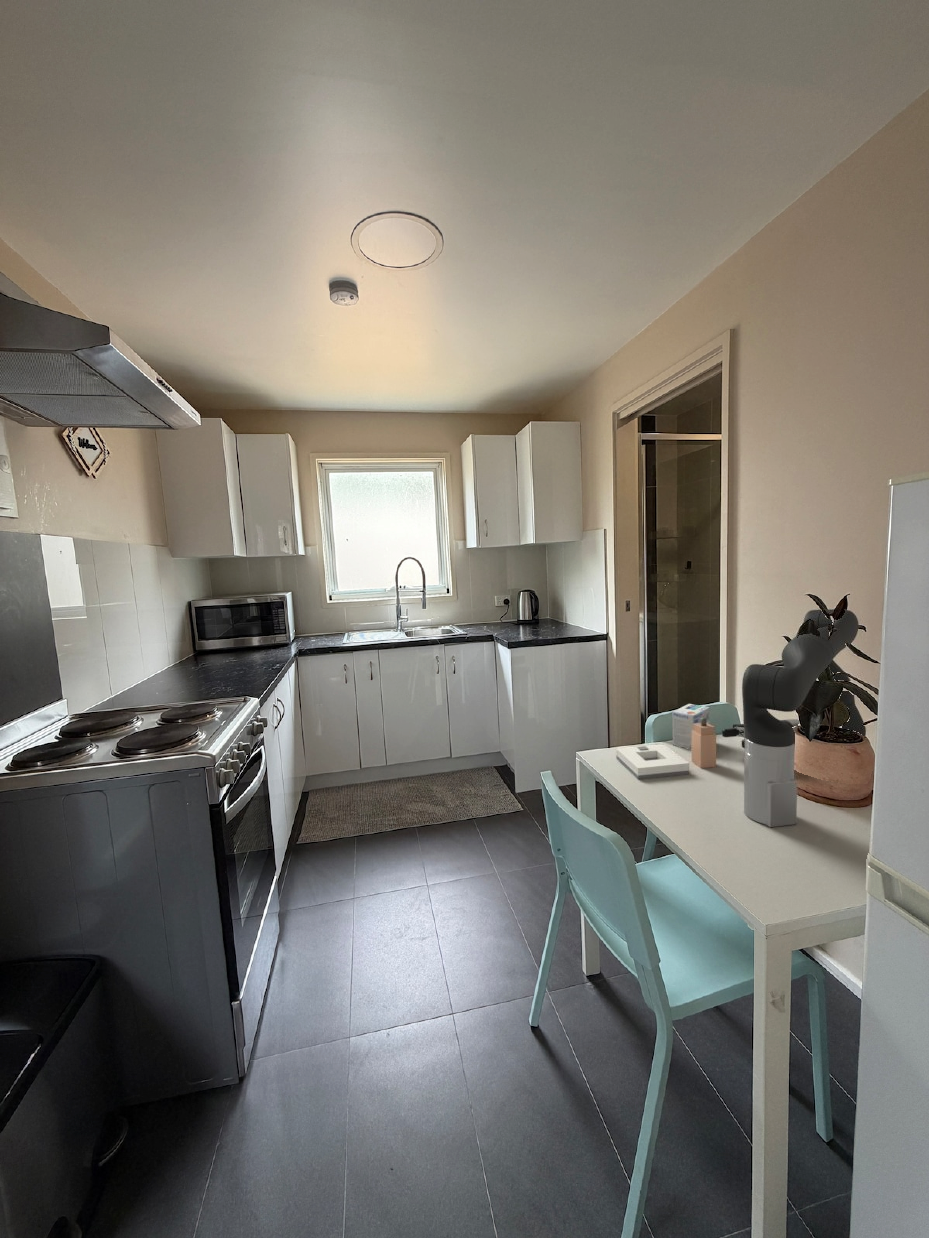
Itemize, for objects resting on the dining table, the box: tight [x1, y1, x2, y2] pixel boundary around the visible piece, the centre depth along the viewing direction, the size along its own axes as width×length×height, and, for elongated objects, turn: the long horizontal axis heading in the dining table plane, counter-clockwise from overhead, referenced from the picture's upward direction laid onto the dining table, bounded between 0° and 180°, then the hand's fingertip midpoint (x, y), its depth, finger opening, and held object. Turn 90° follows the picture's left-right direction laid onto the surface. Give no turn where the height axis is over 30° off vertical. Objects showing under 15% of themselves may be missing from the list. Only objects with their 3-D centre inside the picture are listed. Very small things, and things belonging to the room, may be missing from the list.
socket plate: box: [615, 743, 690, 780], centre depth 139 cm, size 14×14×3 cm
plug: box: [691, 717, 717, 769], centre depth 138 cm, size 4×4×13 cm
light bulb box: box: [671, 703, 710, 750], centre depth 153 cm, size 11×7×11 cm, turn 130°
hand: (732, 738), depth 138 cm, fingers open, 8 cm apart
